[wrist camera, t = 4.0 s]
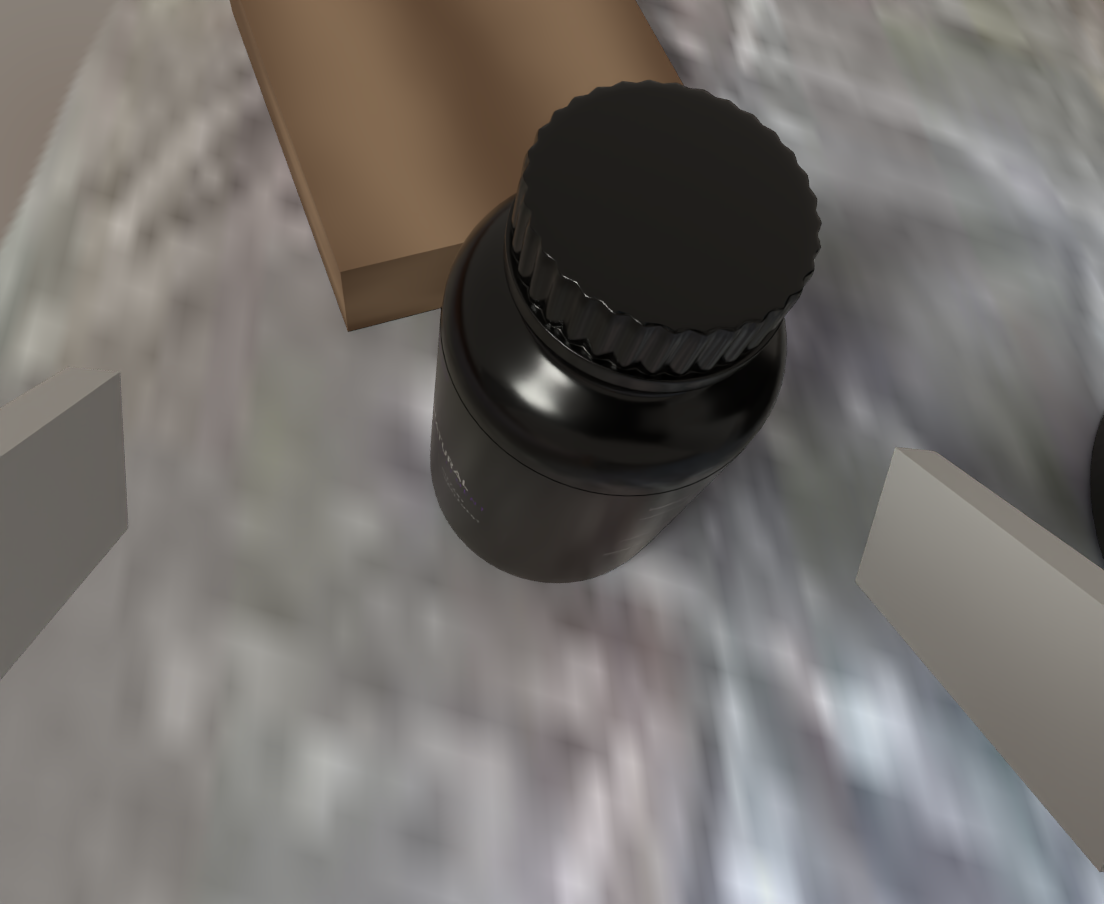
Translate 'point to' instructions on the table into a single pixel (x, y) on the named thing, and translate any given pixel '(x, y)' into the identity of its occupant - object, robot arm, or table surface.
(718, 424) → the supplement bottle
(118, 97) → the table surface
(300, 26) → the brown flat block
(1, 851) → the table surface
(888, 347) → the table surface
